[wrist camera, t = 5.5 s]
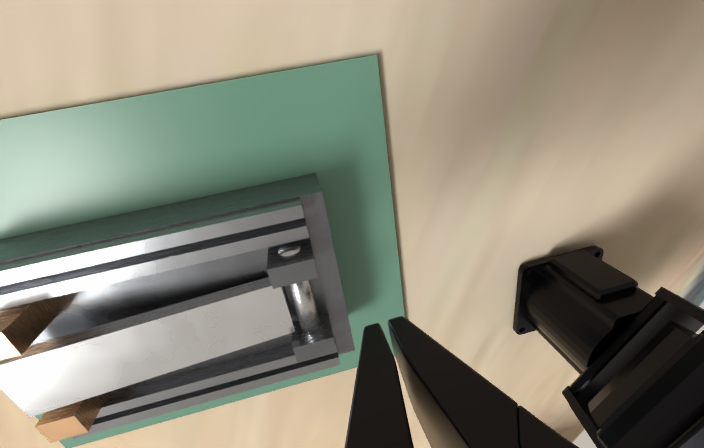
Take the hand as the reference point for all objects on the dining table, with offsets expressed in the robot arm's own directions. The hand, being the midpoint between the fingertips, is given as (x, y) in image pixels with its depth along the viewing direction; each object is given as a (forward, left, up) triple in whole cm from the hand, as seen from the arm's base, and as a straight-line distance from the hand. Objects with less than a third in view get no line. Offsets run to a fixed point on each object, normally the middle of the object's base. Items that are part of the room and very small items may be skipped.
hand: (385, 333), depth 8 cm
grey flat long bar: (-4, +9, -7) cm, 12 cm away
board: (-4, +9, -11) cm, 14 cm away
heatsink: (-4, +9, -11) cm, 14 cm away
